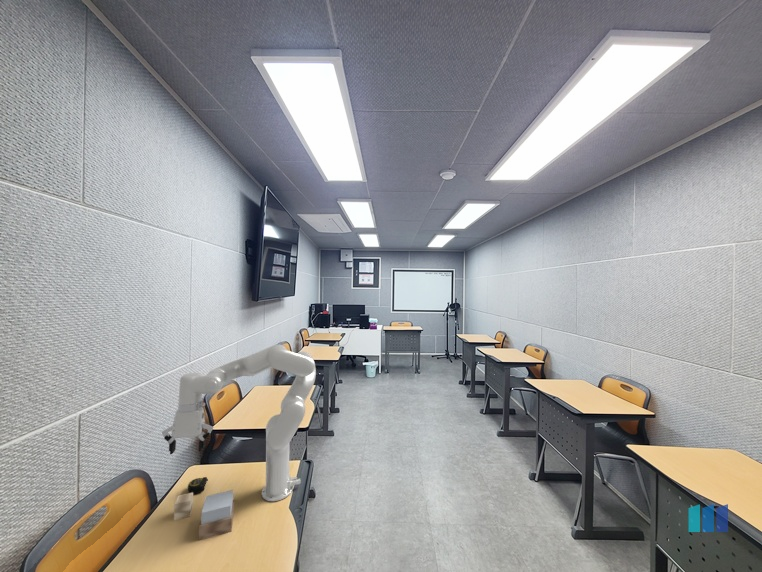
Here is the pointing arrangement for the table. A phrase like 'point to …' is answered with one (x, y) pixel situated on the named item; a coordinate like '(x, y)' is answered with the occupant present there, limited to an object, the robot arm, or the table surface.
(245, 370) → the robot arm
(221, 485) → the table surface
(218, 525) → the bottom block
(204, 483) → the tape measure
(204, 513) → the top block
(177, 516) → the beech block
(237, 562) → the table surface
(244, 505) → the table surface
